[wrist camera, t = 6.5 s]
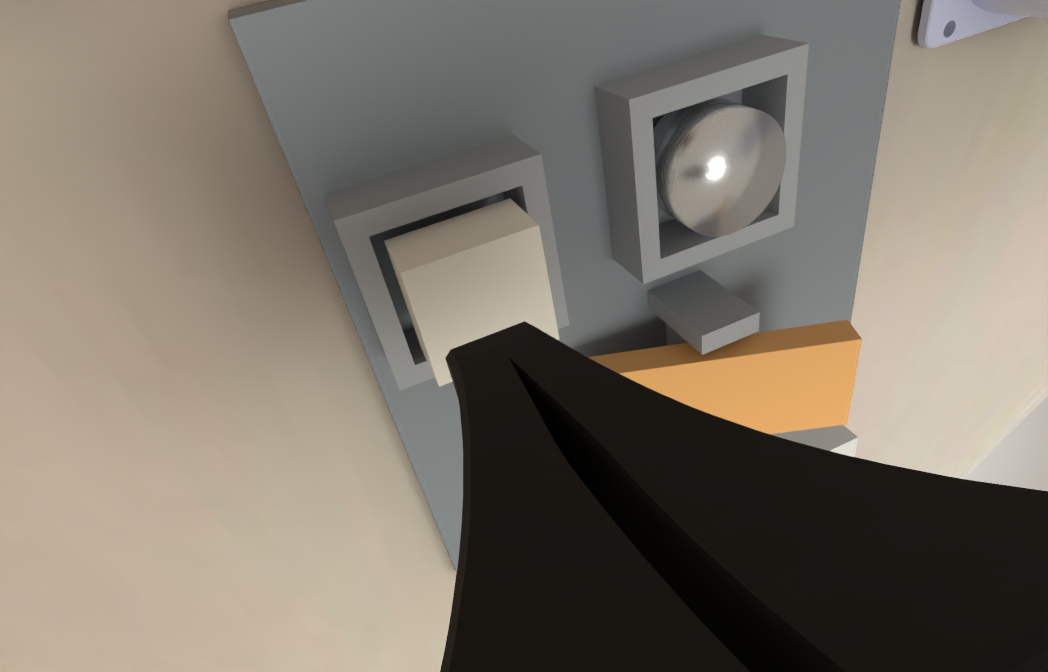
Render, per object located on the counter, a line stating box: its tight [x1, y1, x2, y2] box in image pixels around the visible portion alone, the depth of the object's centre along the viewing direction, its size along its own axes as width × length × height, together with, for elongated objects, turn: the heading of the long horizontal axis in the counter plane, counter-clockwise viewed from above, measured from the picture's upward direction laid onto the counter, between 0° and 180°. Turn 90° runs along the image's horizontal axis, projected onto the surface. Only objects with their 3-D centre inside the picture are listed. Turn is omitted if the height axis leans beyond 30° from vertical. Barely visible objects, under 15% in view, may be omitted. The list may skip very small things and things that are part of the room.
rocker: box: [589, 320, 862, 434], centre depth 20 cm, size 8×4×1 cm, turn 101°
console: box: [228, 0, 901, 573], centre depth 21 cm, size 18×22×5 cm
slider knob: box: [771, 425, 858, 457], centre depth 26 cm, size 2×2×3 cm
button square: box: [384, 198, 560, 387], centre depth 15 cm, size 3×3×2 cm
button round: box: [653, 97, 786, 237], centre depth 17 cm, size 3×3×2 cm
